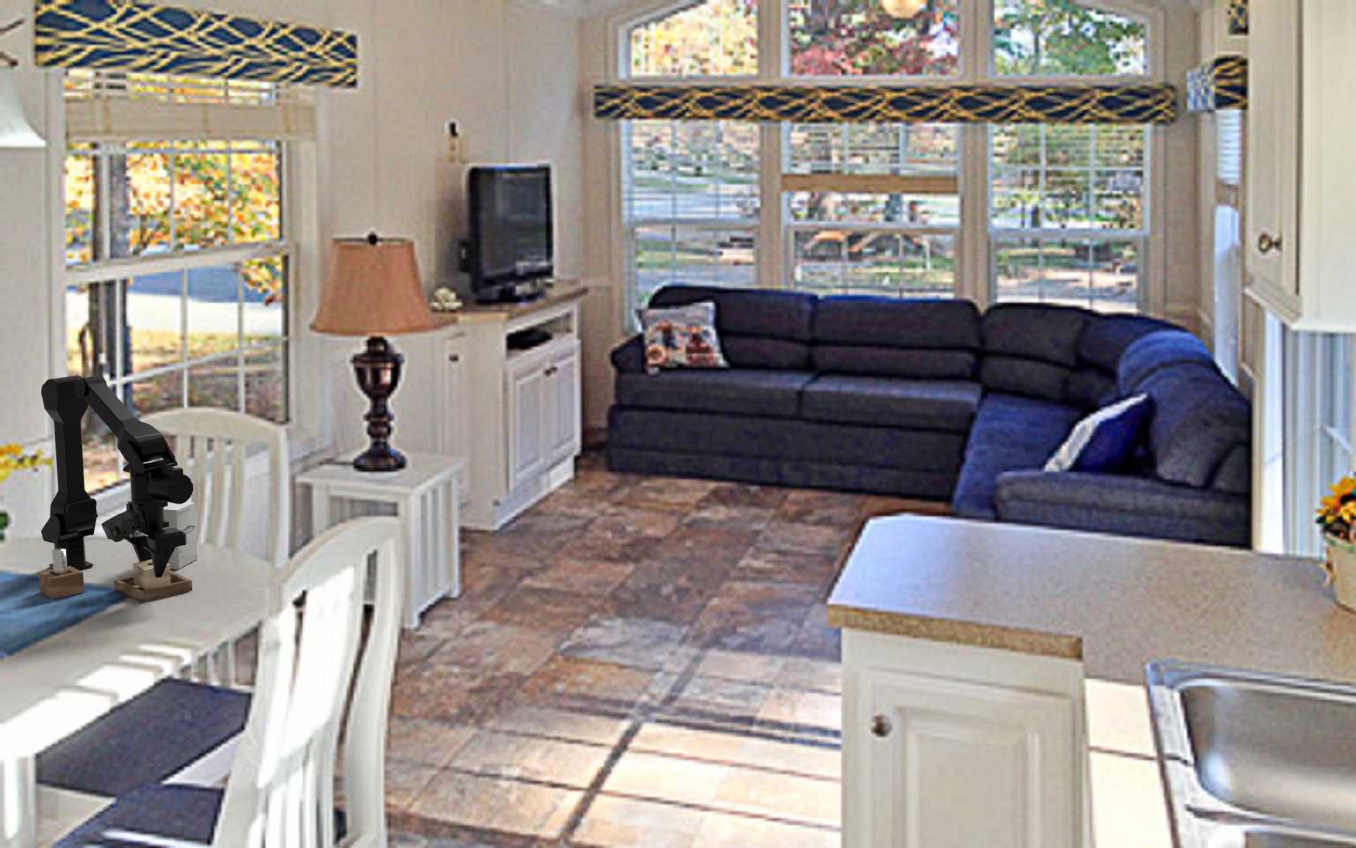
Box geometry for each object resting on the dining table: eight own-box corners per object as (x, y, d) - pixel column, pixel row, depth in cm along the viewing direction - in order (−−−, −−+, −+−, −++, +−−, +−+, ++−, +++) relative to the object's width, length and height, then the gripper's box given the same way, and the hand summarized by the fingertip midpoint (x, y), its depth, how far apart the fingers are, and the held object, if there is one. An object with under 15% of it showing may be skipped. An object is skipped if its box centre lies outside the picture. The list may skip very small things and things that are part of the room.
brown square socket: (40, 592, 260) (38, 572, 259) (71, 585, 265) (69, 565, 264) (53, 599, 256) (51, 579, 255) (84, 592, 261) (83, 572, 260)
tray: (114, 590, 262) (113, 580, 262) (166, 578, 270) (166, 568, 269) (139, 602, 255) (138, 592, 255) (192, 590, 263) (191, 580, 262)
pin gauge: (53, 592, 260) (49, 549, 259) (65, 589, 262) (62, 547, 260) (58, 595, 259) (55, 552, 257) (71, 592, 260) (67, 550, 259)
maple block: (133, 582, 262) (132, 563, 261) (158, 577, 266) (157, 557, 265) (145, 589, 259) (145, 569, 258) (170, 584, 262) (169, 564, 261)
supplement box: (179, 570, 275) (175, 510, 273) (146, 567, 277) (142, 508, 274) (199, 559, 282) (195, 501, 280) (167, 557, 284) (163, 499, 281)
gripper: (84, 494, 259) (90, 572, 262) (128, 513, 247) (133, 594, 250) (140, 485, 267) (145, 560, 270) (185, 502, 255) (190, 581, 258)
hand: (152, 574), depth 262 cm, fingers closed on maple block, 5 cm apart
